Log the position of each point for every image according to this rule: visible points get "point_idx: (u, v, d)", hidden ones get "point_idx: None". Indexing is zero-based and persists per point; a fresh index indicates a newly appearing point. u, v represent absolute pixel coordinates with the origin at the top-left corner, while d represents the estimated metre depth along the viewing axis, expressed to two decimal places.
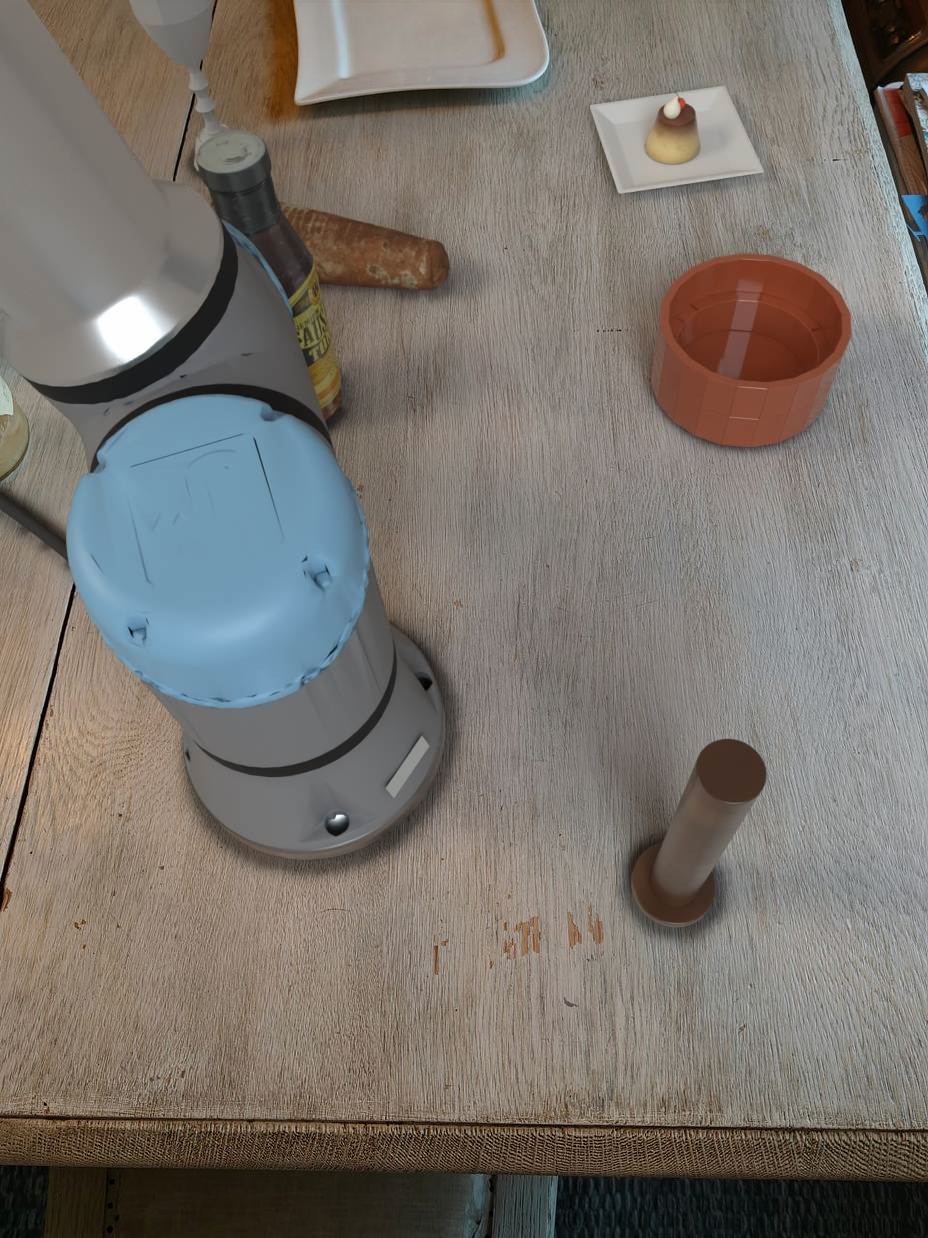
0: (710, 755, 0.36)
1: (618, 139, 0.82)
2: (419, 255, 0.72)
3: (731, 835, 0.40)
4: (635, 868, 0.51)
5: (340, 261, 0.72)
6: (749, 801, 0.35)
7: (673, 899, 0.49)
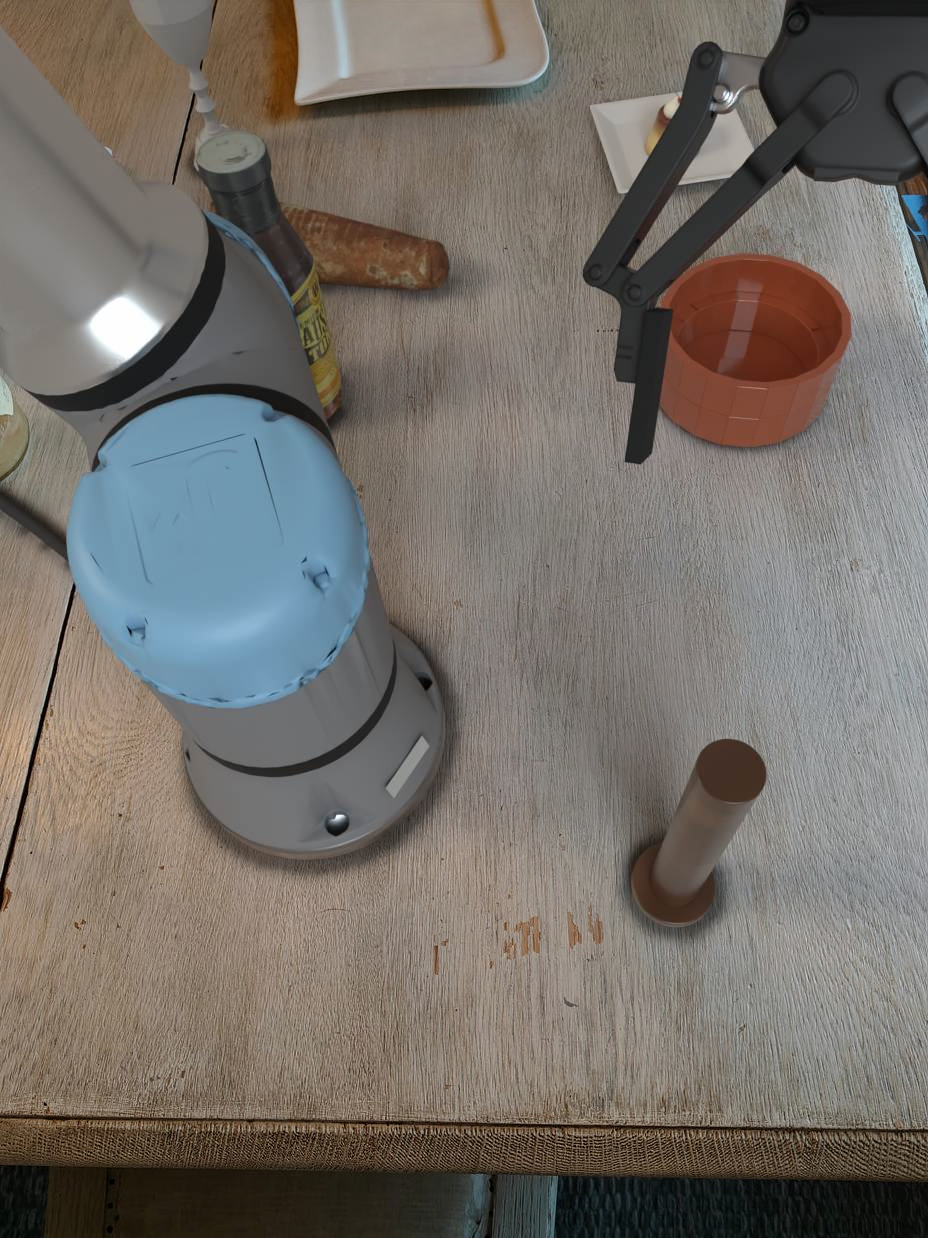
0: (710, 755, 0.36)
1: (618, 139, 0.82)
2: (419, 255, 0.72)
3: (731, 835, 0.40)
4: (635, 868, 0.51)
5: (340, 261, 0.72)
6: (749, 801, 0.35)
7: (673, 899, 0.49)
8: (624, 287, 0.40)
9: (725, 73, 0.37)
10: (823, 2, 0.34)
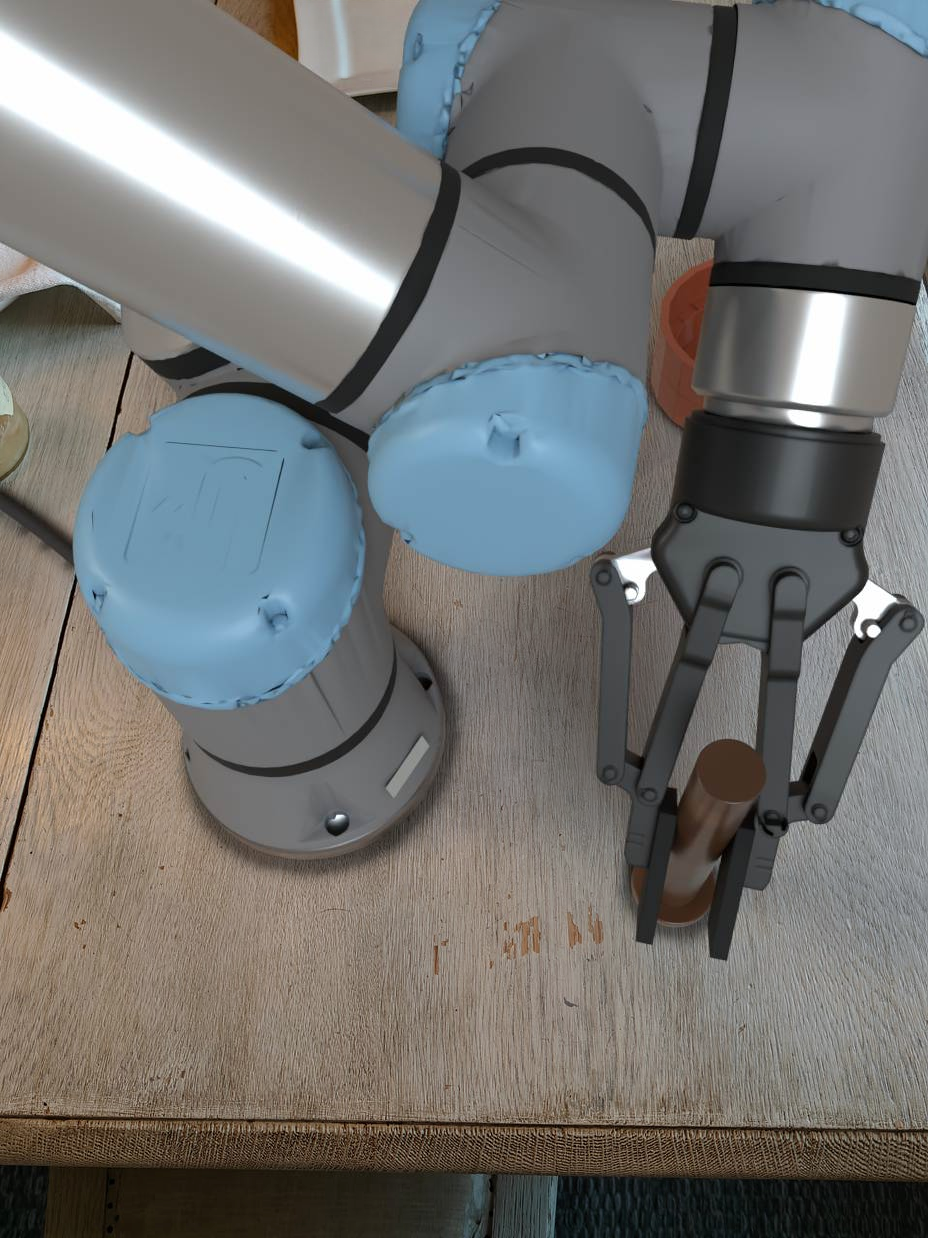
0: (710, 755, 0.36)
1: None
2: None
3: (731, 835, 0.40)
4: (635, 868, 0.51)
5: None
6: (749, 801, 0.35)
7: (673, 899, 0.49)
8: (637, 795, 0.41)
9: (624, 574, 0.39)
10: (712, 514, 0.36)
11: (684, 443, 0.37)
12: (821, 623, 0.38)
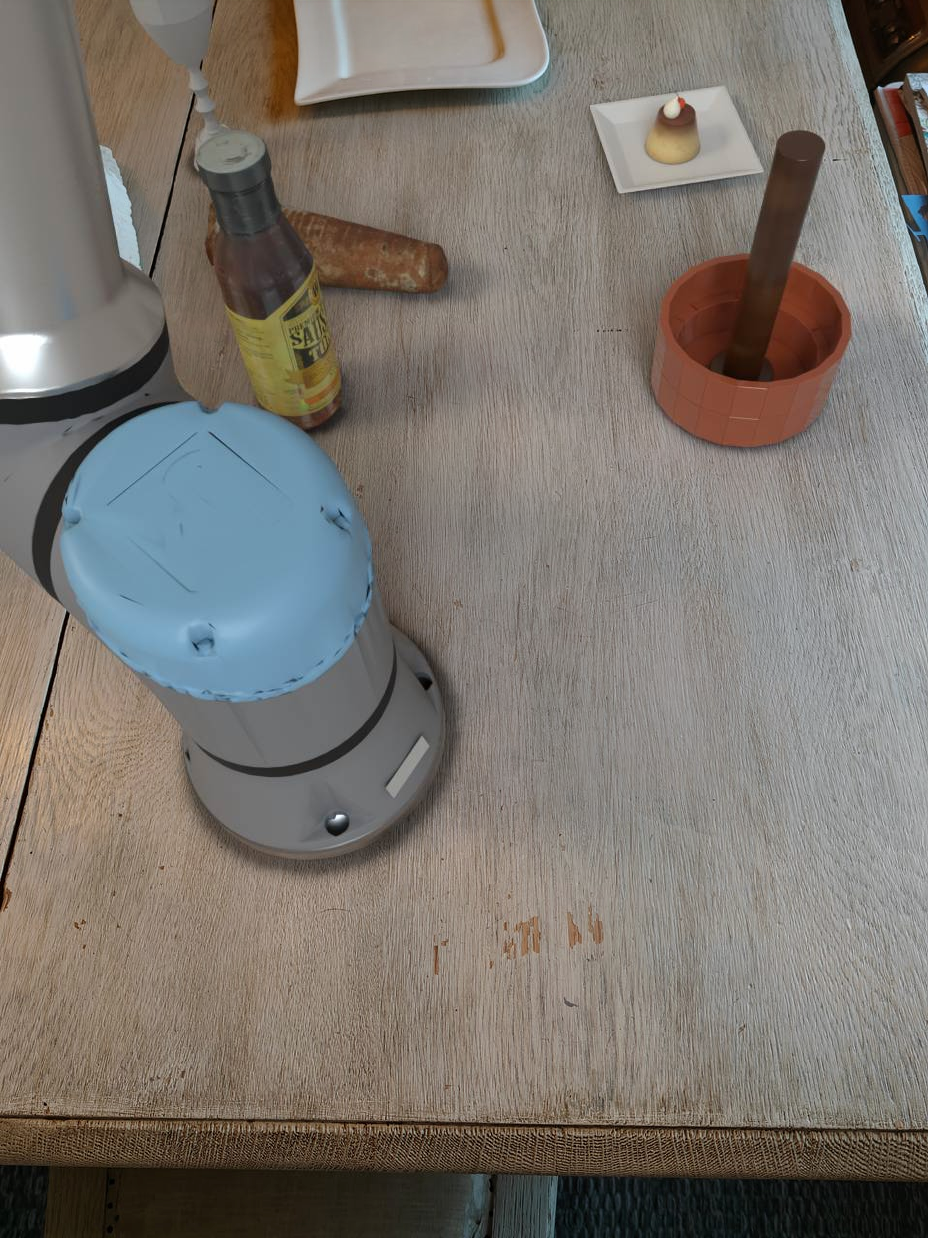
0: (786, 138, 0.52)
1: (618, 139, 0.82)
2: (418, 258, 0.72)
3: (796, 232, 0.56)
4: (711, 363, 0.67)
5: (339, 264, 0.72)
6: (814, 159, 0.51)
7: (743, 367, 0.65)
8: None
9: None
10: None
11: None
12: None
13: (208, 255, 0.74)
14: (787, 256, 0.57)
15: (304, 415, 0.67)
